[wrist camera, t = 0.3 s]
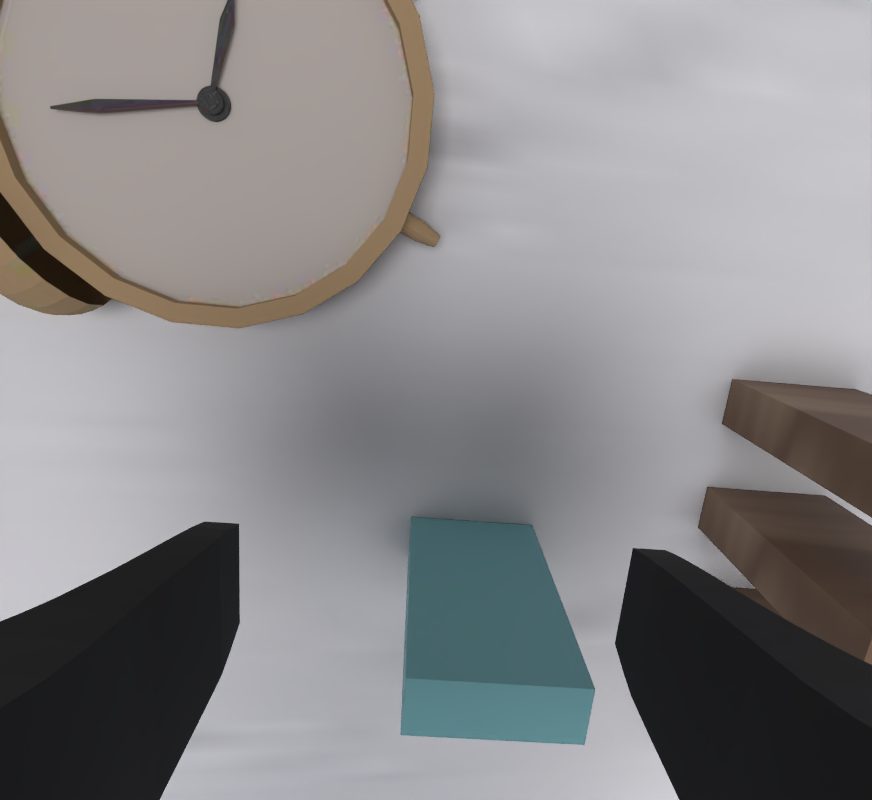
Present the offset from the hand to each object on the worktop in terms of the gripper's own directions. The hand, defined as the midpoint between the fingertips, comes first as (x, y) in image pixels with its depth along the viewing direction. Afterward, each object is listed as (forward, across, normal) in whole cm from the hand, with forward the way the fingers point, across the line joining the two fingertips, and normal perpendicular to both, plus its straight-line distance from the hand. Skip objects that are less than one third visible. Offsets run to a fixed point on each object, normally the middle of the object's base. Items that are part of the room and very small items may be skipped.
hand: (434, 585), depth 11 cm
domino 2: (+10, -12, +2) cm, 16 cm away
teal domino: (+10, -2, +4) cm, 11 cm away
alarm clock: (+10, +8, -9) cm, 16 cm away
